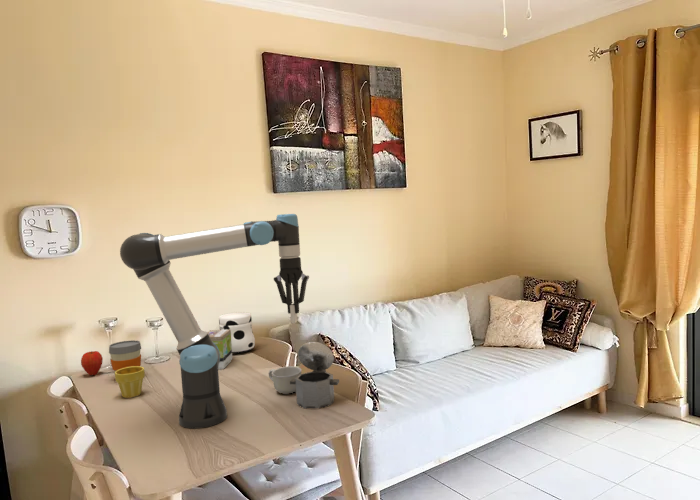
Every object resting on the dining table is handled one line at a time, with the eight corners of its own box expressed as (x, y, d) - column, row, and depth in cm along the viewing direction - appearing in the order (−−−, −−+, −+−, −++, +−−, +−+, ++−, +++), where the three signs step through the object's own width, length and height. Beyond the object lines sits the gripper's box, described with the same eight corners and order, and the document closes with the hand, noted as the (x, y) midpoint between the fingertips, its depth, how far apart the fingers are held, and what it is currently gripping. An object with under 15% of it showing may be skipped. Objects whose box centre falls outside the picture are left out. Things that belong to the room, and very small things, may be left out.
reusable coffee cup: (108, 379, 229) (105, 344, 228) (139, 372, 236) (136, 338, 235) (115, 385, 219) (112, 349, 218) (147, 378, 226) (144, 343, 225)
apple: (84, 379, 230) (82, 354, 229) (80, 375, 236) (77, 351, 236) (106, 375, 235) (103, 350, 234) (101, 371, 242) (98, 347, 241)
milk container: (261, 346, 270) (258, 311, 269) (246, 356, 253) (243, 318, 252) (229, 346, 274) (226, 311, 273) (213, 356, 257) (210, 318, 256)
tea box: (225, 369, 233) (222, 335, 232) (202, 370, 234) (199, 337, 233) (233, 359, 248) (230, 328, 247) (211, 361, 249) (209, 329, 247)
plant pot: (135, 400, 199) (133, 374, 199) (111, 399, 202) (108, 374, 201) (151, 390, 210) (149, 366, 209) (127, 390, 212) (125, 365, 211)
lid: (330, 342, 184) (331, 338, 186) (294, 342, 187) (296, 338, 188) (335, 371, 190) (337, 366, 192) (301, 370, 193) (303, 366, 194)
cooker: (334, 409, 178) (333, 382, 178) (286, 408, 182) (285, 381, 181) (344, 395, 191) (342, 370, 191) (299, 394, 195) (297, 369, 194)
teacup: (308, 390, 199) (307, 369, 199) (286, 398, 192) (284, 376, 191) (284, 383, 209) (283, 363, 208) (262, 391, 201) (260, 370, 201)
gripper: (310, 255, 195) (314, 319, 196) (276, 256, 197) (280, 320, 199) (304, 257, 187) (308, 324, 189) (268, 258, 190) (273, 324, 192)
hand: (294, 322), depth 194 cm, fingers closed
